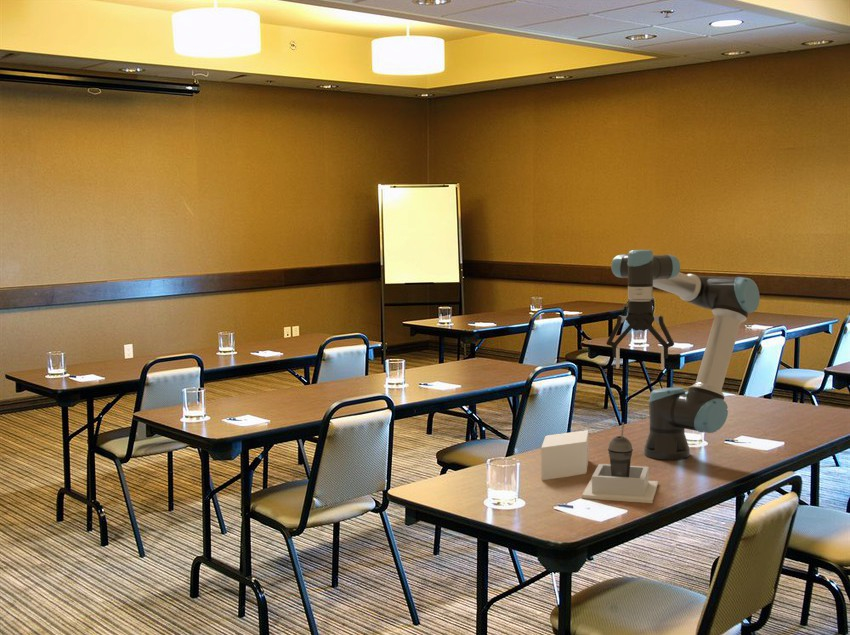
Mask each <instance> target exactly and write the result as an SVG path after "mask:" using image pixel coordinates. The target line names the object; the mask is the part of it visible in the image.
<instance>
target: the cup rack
mask: <svg viewBox="0 0 850 635" xmlns="http://www.w3.org/2000/svg"><path fill="white" fill-rule="evenodd" d="M658 485H659V481H658V480H650V467H649V466H642V465H641V466H640V465H630V473H629V477H614V476H611V465H610V463H609V464H608V463H598V465H597V466H596V468H595V470H594V472H593V473H592V475H591V479H590V480H589V482H588V483H587V485H586V487H585V489H584V490H583V491H582V492H583V493H582V494H581V498H582V499H587V500H601V501H602V500H603V501H615V502H616V501H617V502H630V503H643V504H653V502H654V498H655V496H656V492H657V489H658Z"/></svg>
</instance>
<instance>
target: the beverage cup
mask: <svg viewBox="0 0 850 635" xmlns="http://www.w3.org/2000/svg"><path fill="white" fill-rule="evenodd" d="M624 428H625V422H622V423H621V434H620V435H619V436H616V437H613V438H612V439H611V440H610V442H609V444H608V449H607V451H608V456H609V462H610V463H609V464H610V465H611V476H614V477H629V473H630V466H631V463H632V462H631V461H632V460H631V459H632V455H633V445H632V443H631V441H630V440H629V439H628V438H627V437H625V436H624Z"/></svg>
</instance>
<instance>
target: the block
mask: <svg viewBox="0 0 850 635" xmlns="http://www.w3.org/2000/svg"><path fill="white" fill-rule="evenodd" d="M540 450H541V451H540V452H541V453H540V455H541V458H540V459H541V462H540V463H541V464H540V466H541V477H540V478H541V481H547V480H553V479H558V478H559V479H560V478H566V477H572V476H573V477H574V476H579V475H587V472H588V465H589V429H587V430H585V429H584V430H577V431H571V432H565V433H564V432H563V433H557V434H549V435H545V437H544V440H543V442H542V444H541V449H540Z"/></svg>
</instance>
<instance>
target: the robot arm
mask: <svg viewBox="0 0 850 635" xmlns="http://www.w3.org/2000/svg"><path fill="white" fill-rule="evenodd" d="M610 268H611V272H612V274H613V275H614V276H615V277H617V278H621V279H627V299H628V301H627V315H626V316H625V315H621V314H620V315H618V316H617V318H616V323H615V326H614V327H613V330H612V331H611V333H610V335H609V338H608V339H607V340H606V345H607V346H611V348H612V357H613V358H615V369H619V368H620V360H621V358H620V351H621V350H620V347H621V346H618V345H619V344H620V343H621V341H622V340H623V339H624V338H625V337H626V336H627V335H628V333H630V331H631V330H634V331H642V332H643V331H647V330H648V331H649V332H650V333H651V334H652V335H653V337H654V338H655V339H656V340H657V341H658V342H659V344H660V345H661V346H662V347H661V349H660V362H661V363H660V370H661V371H664V370H665V360H666V359H667V360H668V357H669V348H671V347H673V346H675V341H674V340H673V338H672V336H671V334H670V332H669V330H668V327H667V326H666V325H665V322H664V316H663V315H659V316H654V312H653V311H654V306H653V305H654V302H653V301H652V300H653V299H654V298H653V297H654V288H655V289H659V290H663V291H664V292H667V293H670V294H673V295H675V296H678V297H679V299H680V300H682V301H684V302H687V303H690V304H692V305H695V306H697V307H700V308H704V309H706V310H707V309H708V310H711V313H712V315H713V316H714V318H713V321H712V325H711V328H710V330H709V331H710V332H709V335H708V338H707V342H706V345H705V350H704V353H703V356H702V359H701V363H700V367H699V370H698V373H697V377H696V380H695V383H694V384H692V385H690V386H689V387H688V391H687V393H686V390H685V388H684V387H678V386H677V387H674V386H673V387H663V388H656V389H653V390H651V391H650V394H649V401H648V404H649V405H648V407H649V408H648V410H649V432H648V436H647V438H646V440H645V441H646V442H645V444H644V448H643V449H644V450H643V451H644V452H643V453H644V456H646V457H649V458H651V459H652V458H653V459H655V460H656V459H657V460H665V461H666V460H668V461H674V460H676V461H677V460H683V459H687V458H689V457H690V455H691V454H690V452H691V451H690V450H691V449H690V446H689V443H688V439H687V437H686V434H685V432H686V431H685V430H690V431H695V432H698V433H706V434H714V433H716V432H718V431H719V430H721V428H722V427H723V426H724V425H725V423H726V421H727V418H728V414H729V410H728V404H727V402H726V401H725V395H724V393H723V391H722V390H723V386H724V383H725V381H726V380H725V378H726V376H727V372H728V369H729V365H730V362H731V359H732V355H733V351H734V347H735V344H736V340H737V337H738V333H739V330H740V327H741V324H742V323H744V322H746V321H748V320H747V319H748V316H749V314H751V313H754V312H756V311H757V309H758V308H759V305H760V301H761V300H760V299H761V298H760V291H759V287H758V285H757V284H756V282H755V281H754V280H753V279H751V278H749V277H743V276H716V275H713V276H712V275H710V276H709V275H697V274H695V273H687V274H686V273H683V272H681V262H680V260H679V259H678V257H676V256H675V255H672V254H661V255H660V254H654V252H653V250H651V249H632V250H629V252H628V253H627V254H626V253H625V254H617V255H616V256H615V257H613V259H612V261H611V266H610ZM625 321H626V323H627V324H628V326H627V328H625V330H624V331H623V332H622V333H621V334H620V335H619V337H618V338H617V339H616V340H615V341H614V339H615V337H616V335H617V332H618V331H619V329H620V327H621V324H623V323H624V322H625ZM654 321H655V322H656V323H657V324H658V325H659V327H660V329H661V331H662V332H663V334H664V336H665V339H666V340H665V339H664V338H663V337H662V336H661V334H660V333H659V332H658V331H657V329H656V328H655V327H654V326H653V325H652V324H653V323H654ZM666 341H667V342H666Z"/></svg>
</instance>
